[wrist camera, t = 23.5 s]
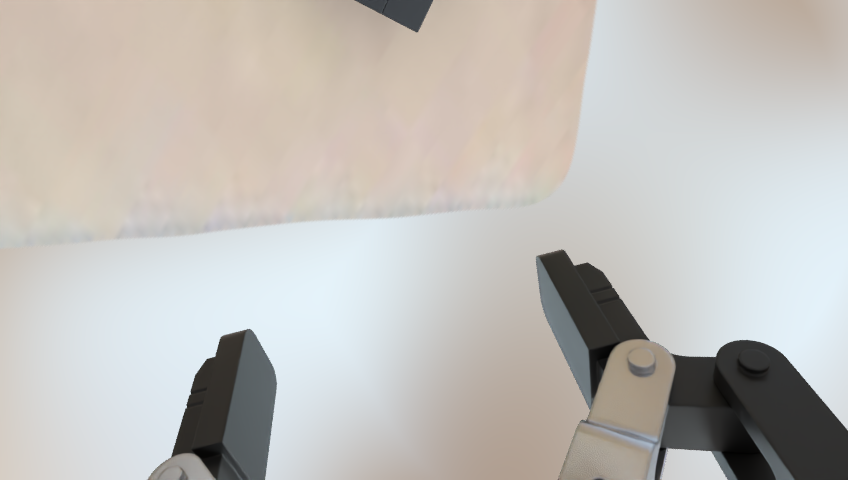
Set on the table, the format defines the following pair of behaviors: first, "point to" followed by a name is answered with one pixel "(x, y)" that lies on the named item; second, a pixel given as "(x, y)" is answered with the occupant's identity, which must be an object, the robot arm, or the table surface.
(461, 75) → the table surface
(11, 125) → the table surface
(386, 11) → the holder
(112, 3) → the table surface
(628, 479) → the robot arm
